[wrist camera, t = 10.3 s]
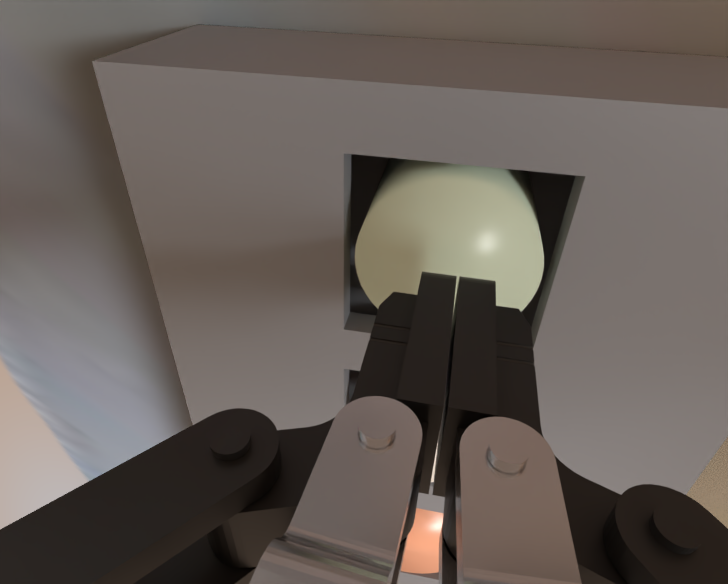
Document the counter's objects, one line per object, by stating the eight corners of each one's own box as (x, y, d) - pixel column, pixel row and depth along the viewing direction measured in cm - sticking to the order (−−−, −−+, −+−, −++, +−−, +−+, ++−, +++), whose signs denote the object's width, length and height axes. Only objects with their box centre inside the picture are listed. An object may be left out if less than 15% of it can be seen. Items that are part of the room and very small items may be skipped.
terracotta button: (473, 435, 21) (471, 525, 18) (458, 494, 24) (454, 582, 21) (370, 418, 22) (351, 502, 19) (367, 477, 24) (350, 560, 21)
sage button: (547, 128, 13) (566, 190, 10) (514, 265, 16) (521, 349, 13) (385, 114, 14) (356, 169, 11) (378, 248, 17) (353, 324, 13)
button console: (802, 61, 12) (951, 125, 8) (572, 517, 25) (589, 629, 21) (197, 24, 15) (91, 60, 11) (264, 459, 27) (227, 551, 23)
